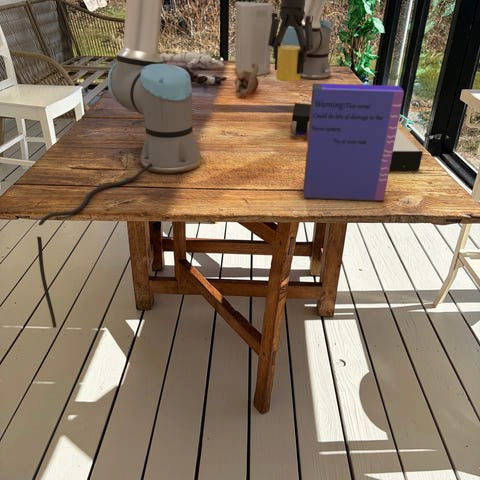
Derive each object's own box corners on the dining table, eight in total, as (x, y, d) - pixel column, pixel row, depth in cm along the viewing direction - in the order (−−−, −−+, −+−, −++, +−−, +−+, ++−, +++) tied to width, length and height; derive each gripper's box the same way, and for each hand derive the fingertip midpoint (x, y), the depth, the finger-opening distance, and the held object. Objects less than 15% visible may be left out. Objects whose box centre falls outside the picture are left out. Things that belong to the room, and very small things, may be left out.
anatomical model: (248, 99, 191) (242, 101, 177) (232, 84, 190) (225, 85, 176) (269, 75, 187) (265, 74, 173) (253, 59, 186) (248, 57, 172)
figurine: (149, 84, 182) (227, 91, 186) (149, 62, 179) (229, 70, 183) (154, 81, 204) (223, 88, 208) (154, 62, 201) (225, 69, 205)
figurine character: (312, 146, 139) (312, 125, 151) (314, 121, 134) (315, 101, 146) (289, 145, 139) (291, 123, 151) (290, 120, 135) (293, 100, 147)
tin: (286, 75, 162) (287, 44, 157) (304, 78, 158) (307, 47, 153) (271, 78, 157) (272, 47, 152) (290, 82, 153) (292, 50, 148)
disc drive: (349, 170, 120) (352, 151, 117) (332, 140, 139) (334, 123, 137) (418, 171, 120) (423, 152, 118) (392, 140, 140) (395, 124, 137)
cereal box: (379, 191, 109) (398, 84, 97) (383, 201, 105) (404, 90, 93) (303, 188, 110) (312, 82, 98) (304, 197, 106) (314, 88, 94)
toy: (179, 76, 209) (178, 59, 205) (154, 65, 226) (153, 50, 223) (226, 70, 221) (226, 54, 217) (199, 60, 238) (198, 45, 235)
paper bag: (273, 76, 210) (276, 6, 196) (239, 77, 209) (240, 6, 194) (266, 67, 226) (268, 2, 212) (235, 67, 225) (235, 1, 210)
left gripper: (329, -6, 142) (322, 73, 154) (271, -10, 152) (268, 65, 164) (318, -5, 137) (311, 77, 148) (258, -8, 147) (256, 68, 159)
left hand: (288, 71), depth 156 cm, fingers closed on tin, 8 cm apart
